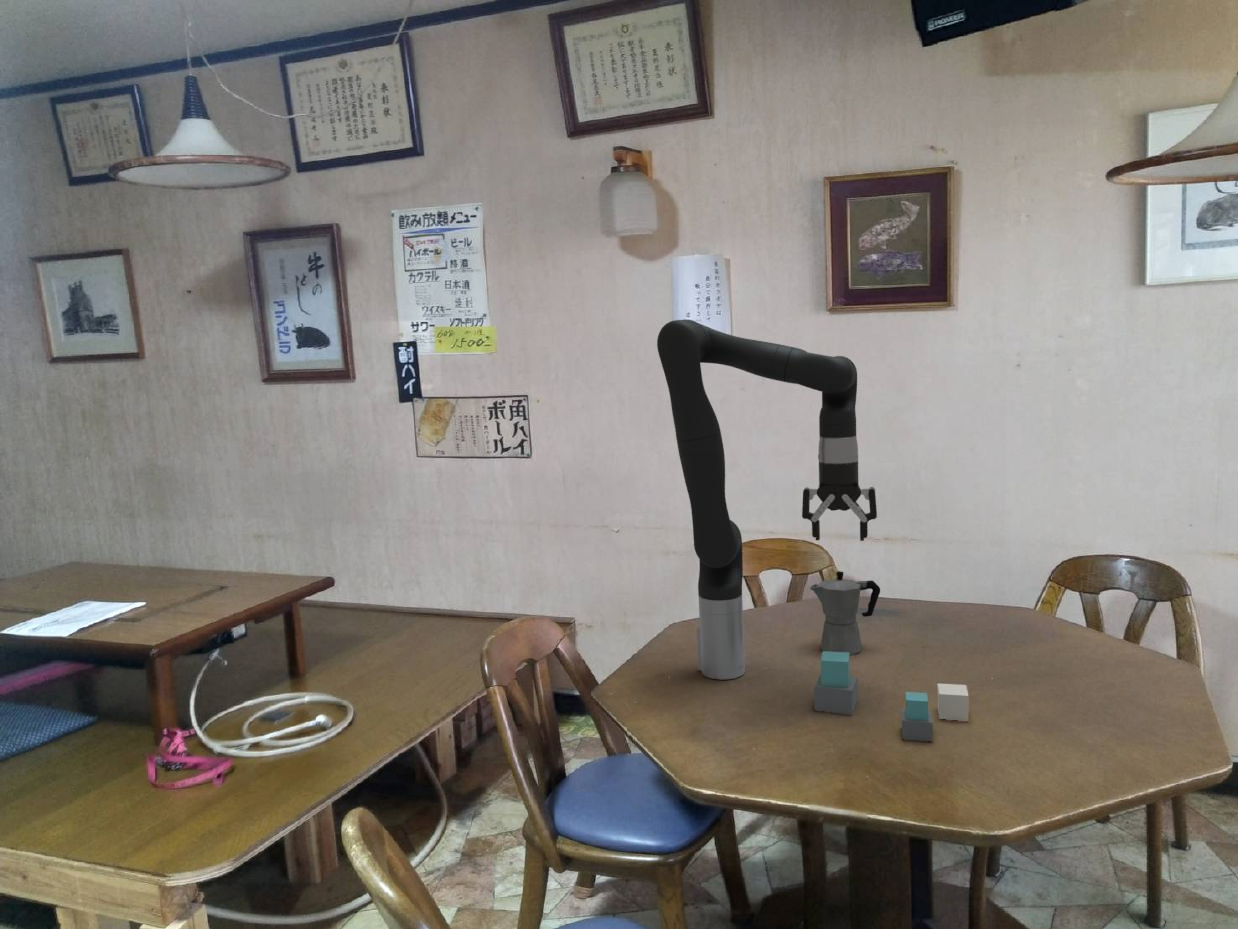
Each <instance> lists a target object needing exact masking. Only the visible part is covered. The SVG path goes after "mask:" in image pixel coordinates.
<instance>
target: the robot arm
mask: <svg viewBox="0 0 1238 929" xmlns="http://www.w3.org/2000/svg"><path fill="white" fill-rule="evenodd" d="M656 340H657V341H656V347H657V352H658V355H659V356H658V357H659V359H660V363H661V367H662V370H663V373H664V377H665V379H666V384H667V388H668V392H669V398H670V406H671V411H672V412H671V413H672V419H673V425H674V430H675V437H676V444H677V450H678V451H677V452H678V456H679V459H680V464H681V468H682V469H681V470H682V473H683V478H684V483H685V487H686V491H687V494H688V499H689V503H690V510H691V519H692V520H691V521H692V530H693V531H692V532H693V533H692V534H693V548H694V551H695V554H696V557H697V558H698V560H699V572H698V582H697V591H698V592H697V593H698V610H699V611H698V613H699V626H697V628H696V642H697V643H696V645H697V665H698V666H697V669H698V671H701V674H702V675H703V676H704V677H707V678H709V679H712V680H721V681H722V680H732V679H737V678H740V677H741V676H743V675H744V674H745V671H746V667H745V639H744V638H745V636H744V610H743V609H744V606H743V605H744V604H743V576H744V571H743V569H744V568H743V566H744V565H743V562H744V561H743V559H744V558H743V538H742V537H743V536H742V532H741V530H740V528H739V527H738V525H737V524H736V523H735V522H734V521H733V520H731V519H730V515H729V511H728V505H727V501H726V500H727V499H726V460H725V459H726V458H725V449H724V448H725V447H724V443H723V436H722V431H721V427H720V424H719V423H720V422H719V420H718V418H717V414H716V413H715V410H714V409H713V406H712V404H711V402H710V401H711V400H709V397H708V395H707V392H706V390H705V389H706V388H705V386H704V381H703V375H702V367H701V364H704V363H705V364H715V365H716V364H717V365H722V366H728V367H732V368H734V369H735V368H736V369H738V370H741V371H744V372H747V373H750V374H752V375H754V376H758V377H762V378H764V379H769V380H773V381H778V382H782V383H787V384H794V385H795V384H796V385H800V386H801V387H802V386H803V387H806V388H809V389H811V390H814V391H818V392H821V408H820V411H819V419H818V420H819V425H818V427H819V428H818V430H819V432H818V433H819V440H818V455H817V459H818V487H817V488H810V487H808V486H807V487H805V488H803V491H802V508H801V518H802V519H803V520H804V519H805V520H808V521H810V522H811V535H812V537H813V538H815V541H820V540H821V539H820V538H821V526H820V522H821V520H820V518H821V516H822V515H823V514H824V513H825V512H826V510H827V509H828V510H830V511H839V510H840V511H844V512H846V511H848V510H850V509H851V511H852V512H853V514H854V515H856V517H857V518H858V519H859V520H860V521H859V541H861V542H864V541H865V539H867V537H868V535H869V534H868V533H869V530H868V523H869V522H870V521H871V520H876V519H877V518H878V511H877V500H876V499H877V498H876V488H875V487H874V486H870V487H868V488H861V487H860V485H859V447H858V440H857V416H856V415H857V414H856V403H857V393H858V392H857V391H858V371H857V368H856V365H855V363H854V362H853V361H852V360H851V358H848V357H847V356H844V355H836V356H833V355H832V356H831V355H830V356H829V355H825V354H818V353H813V352H808V351H806V350H805V349H801V348H798V347H794V346H790V345H785V344H780V343H774V342H769V341H762V340H756V339H752V338H751V339H750V338H745V337H740V336H736V335H732V334H728V333H725V332H723V331H720V330H716V329H714V328H711V327H708V326H707V325H704V324H701V323H699V322H697V321H696V320H693V319H676V320H671V321H668V322H667V323H665V324H664V325H663V326H662V327H661V328H660V331H659V332H658V336H657V339H656ZM861 495H862V496H863V497H864V499H865V500H866V501H867V500H868V503H869V506H868V507H869V512H867V513H866V512H865V511H864V509H863V508H862V506H861V505H860V504H859V503H858V502H857V501H858V500H859V498H860V497H861ZM815 496H817V497H818V498H819V500H820V502H821V504H820V505H819V506H818V507H817V509H816V510H815V512H811V511H810V505H811V504H810V501H812V500H813V499H814V497H815Z"/></svg>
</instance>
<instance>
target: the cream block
mask: <svg viewBox="0 0 1238 929" xmlns="http://www.w3.org/2000/svg"><path fill="white" fill-rule="evenodd" d="M969 705H970V704H969V691H968V687H967V685H966V684H955V683H937V714H939V715H938V720H939V719H946V720H945V721H951V720H958V721H957V722H966V721H968V722H969V709H970V708H969Z"/></svg>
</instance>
